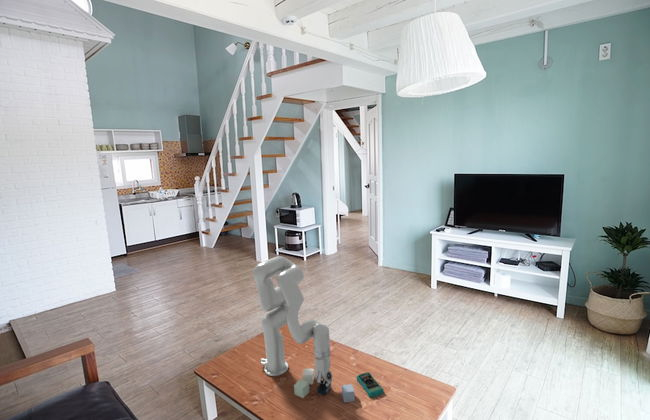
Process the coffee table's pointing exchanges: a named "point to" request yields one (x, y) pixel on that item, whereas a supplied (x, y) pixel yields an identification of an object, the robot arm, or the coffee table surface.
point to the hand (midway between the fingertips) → (324, 386)
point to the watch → (328, 384)
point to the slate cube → (348, 393)
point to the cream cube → (308, 375)
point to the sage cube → (301, 388)
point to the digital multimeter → (370, 384)
